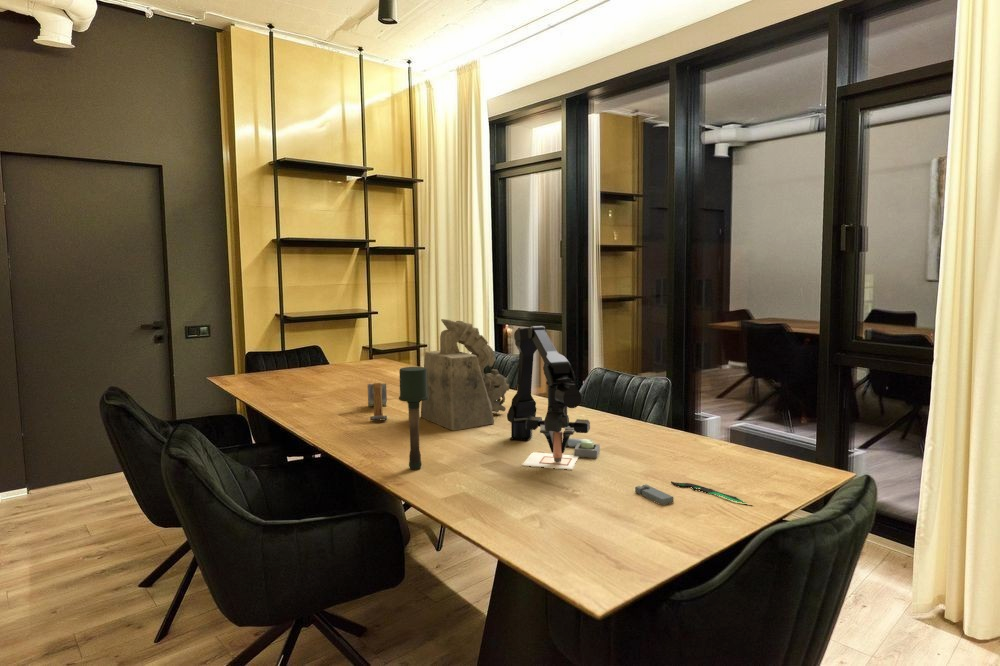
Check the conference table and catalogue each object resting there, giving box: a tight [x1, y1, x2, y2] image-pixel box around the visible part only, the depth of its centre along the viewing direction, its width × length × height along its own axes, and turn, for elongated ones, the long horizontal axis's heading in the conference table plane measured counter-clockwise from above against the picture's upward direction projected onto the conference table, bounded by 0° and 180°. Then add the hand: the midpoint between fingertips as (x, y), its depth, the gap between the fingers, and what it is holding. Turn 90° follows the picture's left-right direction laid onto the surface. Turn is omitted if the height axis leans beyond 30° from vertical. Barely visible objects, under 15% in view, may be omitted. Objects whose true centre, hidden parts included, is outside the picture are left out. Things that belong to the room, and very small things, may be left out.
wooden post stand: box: [367, 382, 388, 421], centre depth 252 cm, size 8×17×30 cm
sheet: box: [521, 452, 580, 471], centre depth 187 cm, size 15×13×1 cm
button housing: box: [573, 443, 601, 459], centre depth 194 cm, size 7×7×2 cm
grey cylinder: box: [566, 437, 594, 448], centre depth 202 cm, size 9×3×3 cm, turn 73°
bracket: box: [634, 484, 675, 506], centre depth 157 cm, size 4×10×2 cm, turn 27°
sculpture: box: [420, 318, 510, 431], centre depth 241 cm, size 27×33×40 cm
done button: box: [581, 439, 595, 449], centre depth 193 cm, size 4×4×2 cm
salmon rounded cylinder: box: [552, 430, 563, 462], centre depth 184 cm, size 3×3×9 cm
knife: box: [670, 481, 747, 503], centre depth 159 cm, size 23×1×5 cm
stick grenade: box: [398, 366, 428, 471], centre depth 180 cm, size 8×9×30 cm
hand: (557, 452), depth 184 cm, fingers closed on salmon rounded cylinder, 3 cm apart
